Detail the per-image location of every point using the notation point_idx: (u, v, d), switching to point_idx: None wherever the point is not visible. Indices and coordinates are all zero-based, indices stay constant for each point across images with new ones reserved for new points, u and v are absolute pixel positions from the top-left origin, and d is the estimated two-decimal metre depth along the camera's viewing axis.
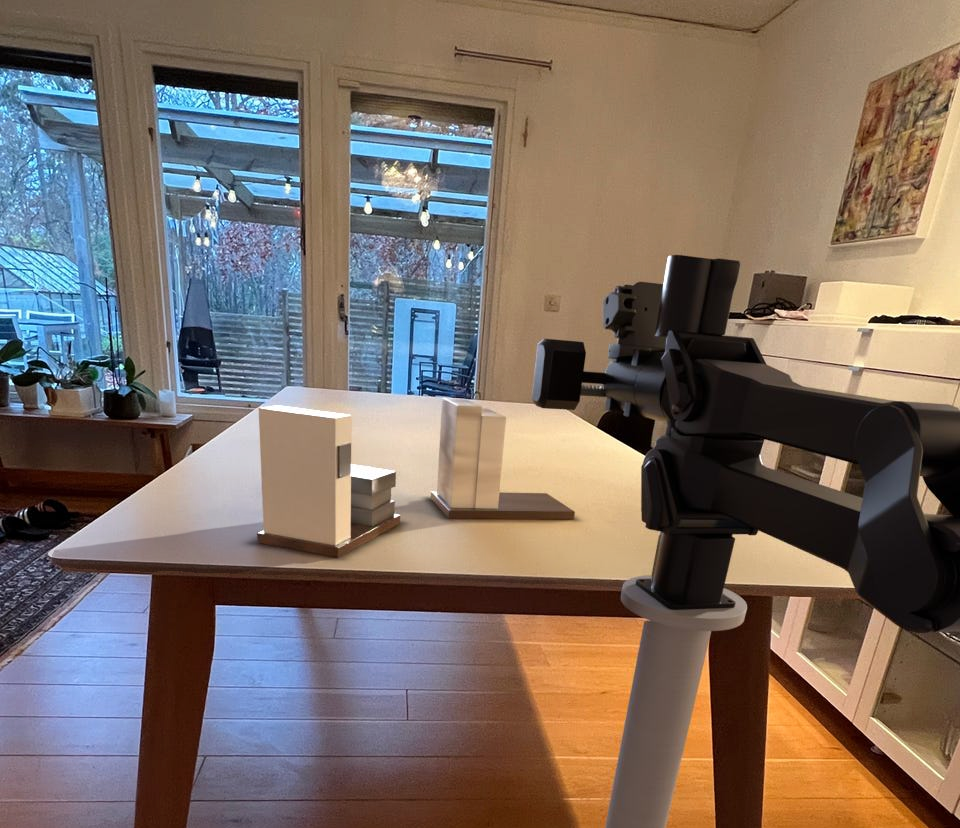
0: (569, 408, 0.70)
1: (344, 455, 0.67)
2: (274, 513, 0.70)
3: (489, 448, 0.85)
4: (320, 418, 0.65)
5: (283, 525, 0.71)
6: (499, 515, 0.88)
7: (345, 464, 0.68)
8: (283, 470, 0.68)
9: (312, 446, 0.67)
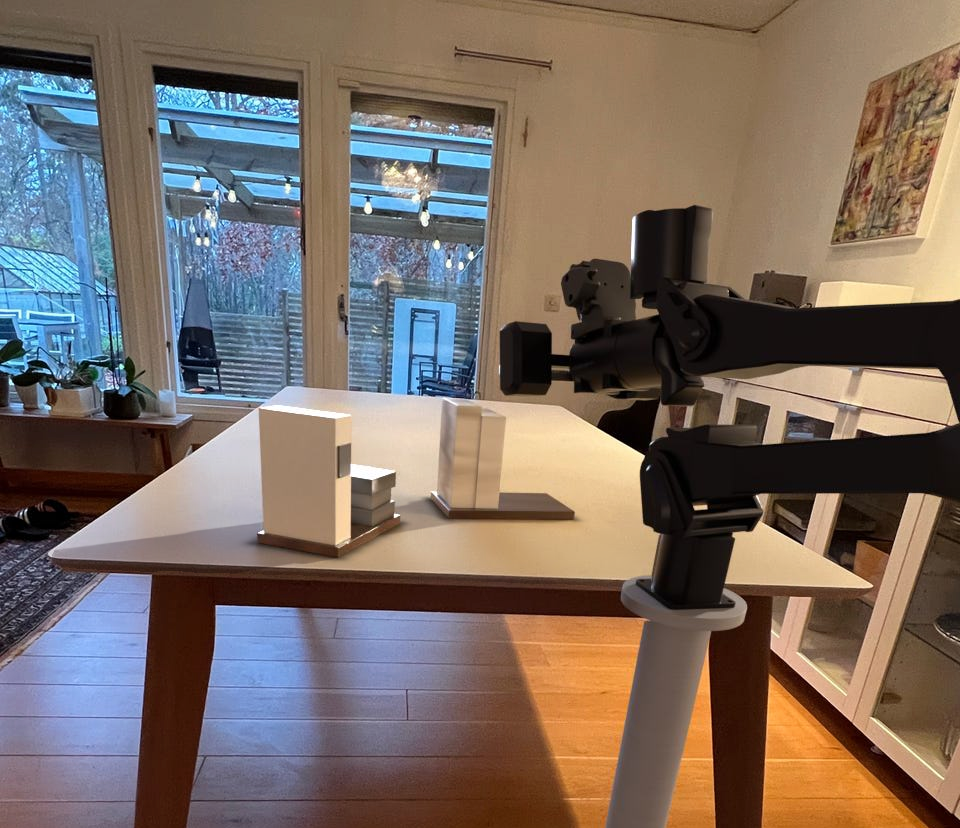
0: (541, 393, 0.66)
1: (344, 455, 0.67)
2: (274, 513, 0.70)
3: (489, 448, 0.85)
4: (320, 418, 0.65)
5: (283, 525, 0.71)
6: (499, 515, 0.88)
7: (345, 464, 0.68)
8: (283, 470, 0.68)
9: (312, 446, 0.67)
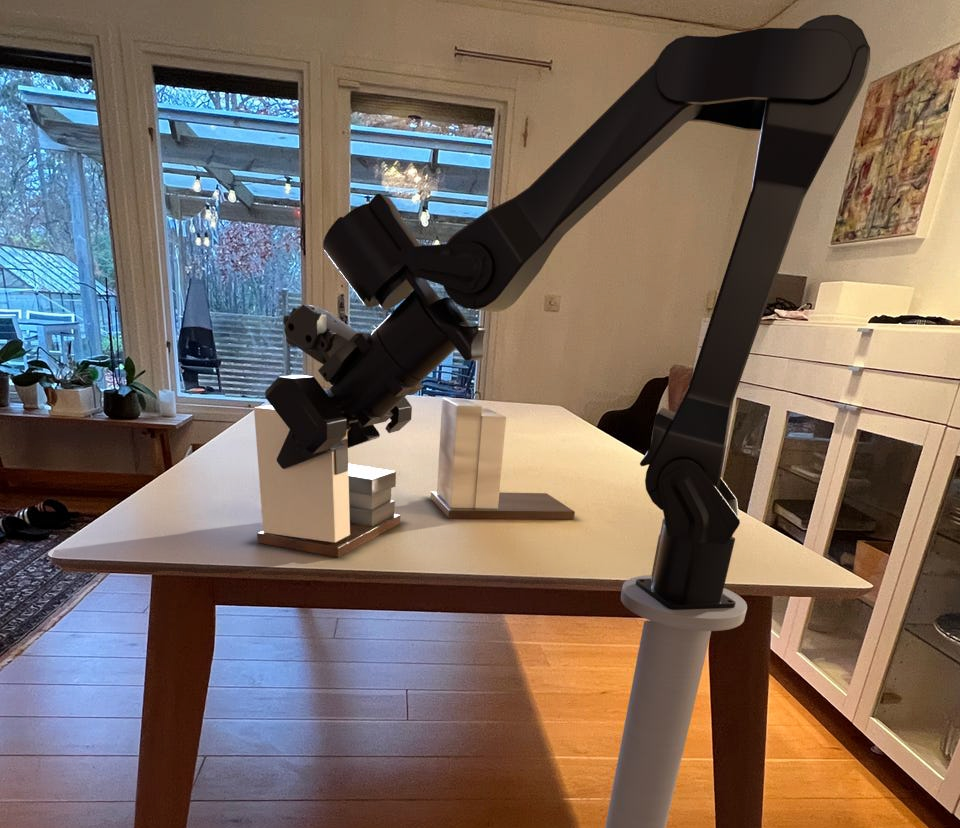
0: (342, 433, 0.60)
1: (340, 451, 0.67)
2: (273, 513, 0.70)
3: (489, 448, 0.85)
4: None
5: (282, 524, 0.71)
6: (499, 515, 0.88)
7: (342, 460, 0.68)
8: (280, 469, 0.68)
9: None
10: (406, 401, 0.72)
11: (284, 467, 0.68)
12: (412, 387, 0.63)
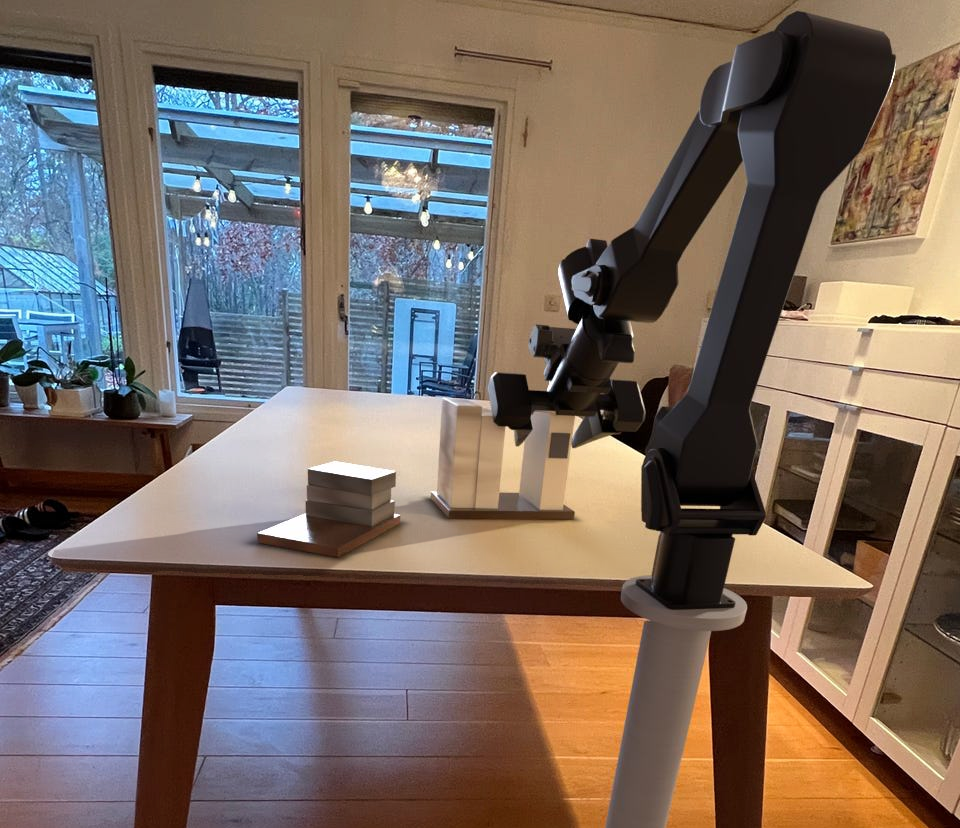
0: (525, 415, 0.82)
1: (558, 441, 0.87)
2: (523, 481, 0.95)
3: (489, 448, 0.85)
4: None
5: (525, 490, 0.95)
6: (499, 515, 0.88)
7: (559, 448, 0.87)
8: (530, 448, 0.92)
9: (541, 432, 0.89)
10: (639, 406, 0.85)
11: (515, 445, 0.91)
12: (589, 385, 0.78)
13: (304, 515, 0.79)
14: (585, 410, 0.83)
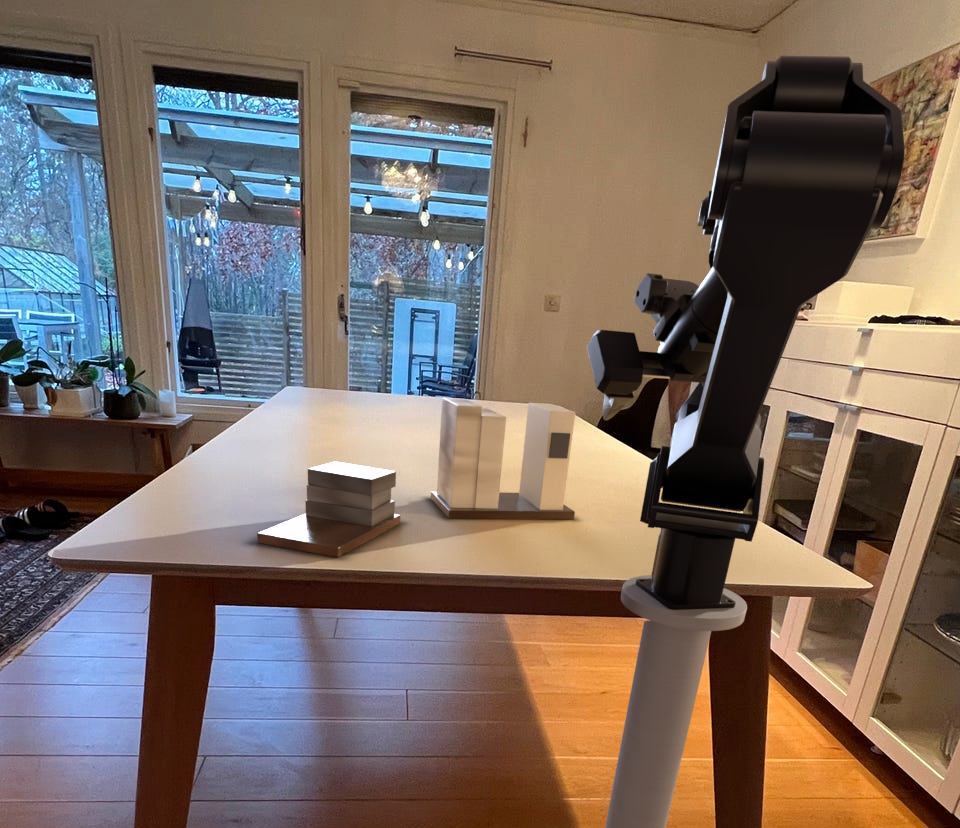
0: (636, 380, 0.69)
1: (558, 441, 0.87)
2: (523, 481, 0.95)
3: (489, 448, 0.85)
4: (546, 411, 0.87)
5: (525, 490, 0.95)
6: (499, 515, 0.88)
7: (559, 448, 0.87)
8: (530, 448, 0.92)
9: (541, 432, 0.89)
10: None
11: (604, 418, 0.78)
12: None
13: (304, 515, 0.79)
14: (705, 375, 0.70)
